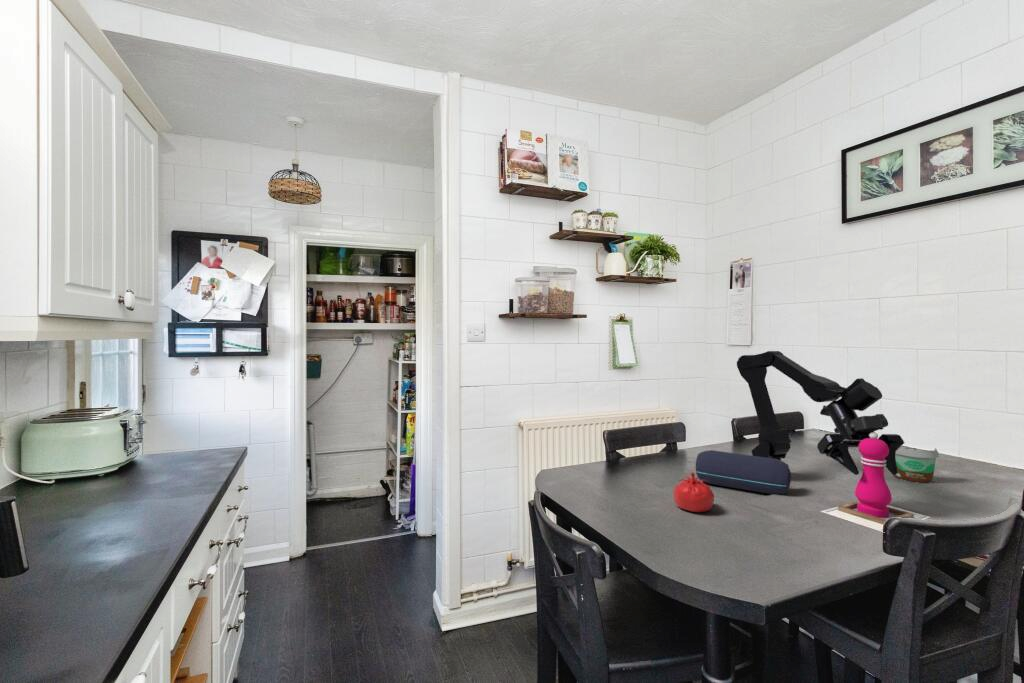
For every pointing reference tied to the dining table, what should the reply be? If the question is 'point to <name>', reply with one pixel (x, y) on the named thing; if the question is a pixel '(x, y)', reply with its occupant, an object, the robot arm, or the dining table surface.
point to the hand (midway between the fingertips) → (876, 474)
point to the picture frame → (867, 522)
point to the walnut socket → (848, 509)
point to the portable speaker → (743, 472)
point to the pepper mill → (873, 478)
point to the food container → (915, 464)
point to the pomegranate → (693, 495)
